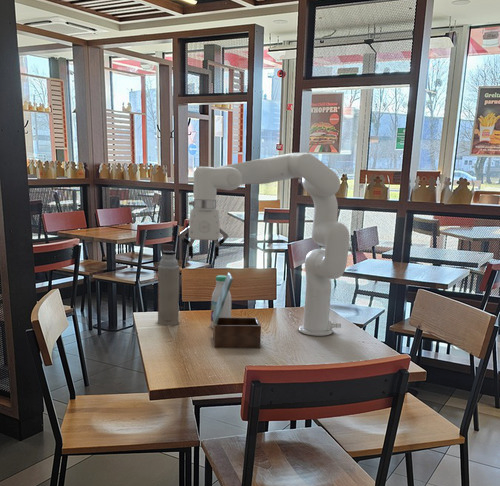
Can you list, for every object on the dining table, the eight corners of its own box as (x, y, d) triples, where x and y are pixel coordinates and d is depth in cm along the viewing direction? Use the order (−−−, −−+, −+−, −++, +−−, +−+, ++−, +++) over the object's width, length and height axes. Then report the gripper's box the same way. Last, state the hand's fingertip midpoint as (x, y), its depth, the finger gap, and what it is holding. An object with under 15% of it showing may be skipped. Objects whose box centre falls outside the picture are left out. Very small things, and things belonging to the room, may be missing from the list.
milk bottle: (231, 325, 223) (233, 274, 219) (229, 330, 216) (231, 278, 211) (212, 324, 224) (213, 273, 219) (209, 329, 216) (210, 277, 212)
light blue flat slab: (230, 273, 201) (227, 272, 201) (233, 279, 190) (230, 278, 190) (214, 316, 204) (212, 315, 203) (216, 324, 193) (214, 323, 193)
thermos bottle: (155, 324, 220) (155, 252, 213) (161, 319, 227) (161, 249, 221) (175, 326, 219) (176, 253, 212) (180, 321, 226) (181, 250, 220)
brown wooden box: (255, 338, 207) (256, 317, 206) (260, 347, 196) (261, 325, 195) (212, 338, 205) (213, 317, 204) (214, 347, 194) (215, 325, 193)
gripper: (178, 204, 184) (177, 259, 188) (231, 206, 186) (230, 260, 190) (178, 203, 192) (177, 256, 195) (230, 205, 194) (228, 257, 198)
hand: (203, 257), depth 193 cm, fingers open, 7 cm apart
